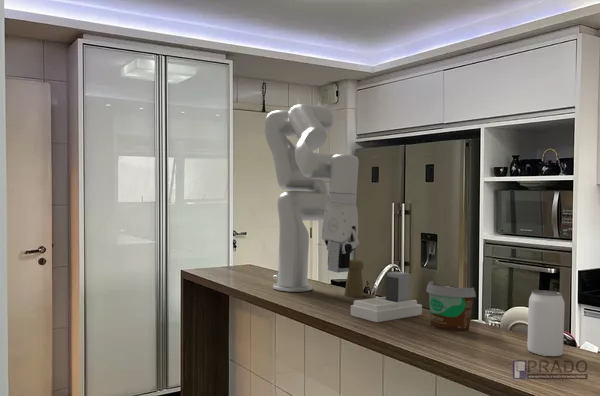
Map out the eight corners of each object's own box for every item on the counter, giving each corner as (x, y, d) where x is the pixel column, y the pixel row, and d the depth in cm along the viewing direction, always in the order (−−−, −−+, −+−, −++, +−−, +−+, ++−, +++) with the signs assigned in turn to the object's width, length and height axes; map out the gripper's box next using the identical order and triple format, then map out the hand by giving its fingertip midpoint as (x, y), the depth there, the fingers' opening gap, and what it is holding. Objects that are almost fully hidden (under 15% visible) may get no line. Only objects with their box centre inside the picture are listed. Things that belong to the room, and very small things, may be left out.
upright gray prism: (327, 270, 146) (329, 241, 145) (339, 268, 149) (341, 240, 148) (337, 272, 143) (339, 243, 142) (349, 271, 146) (351, 242, 145)
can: (567, 353, 106) (569, 293, 106) (557, 359, 101) (559, 296, 101) (533, 346, 110) (535, 288, 110) (522, 352, 105) (524, 292, 105)
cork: (363, 297, 160) (364, 261, 160) (343, 296, 161) (344, 260, 161) (364, 294, 166) (365, 259, 166) (345, 293, 167) (346, 258, 167)
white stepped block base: (350, 315, 134) (351, 273, 135) (395, 308, 145) (396, 270, 145) (376, 322, 127) (378, 278, 128) (421, 314, 138) (423, 274, 138)
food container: (414, 324, 127) (415, 282, 127) (430, 321, 131) (431, 280, 131) (459, 335, 118) (460, 290, 118) (474, 331, 122) (476, 287, 122)
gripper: (312, 197, 149) (308, 262, 150) (354, 202, 136) (349, 272, 137) (332, 198, 154) (328, 260, 154) (374, 202, 141) (370, 270, 141)
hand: (338, 265), depth 145 cm, fingers closed on upright gray prism, 4 cm apart
